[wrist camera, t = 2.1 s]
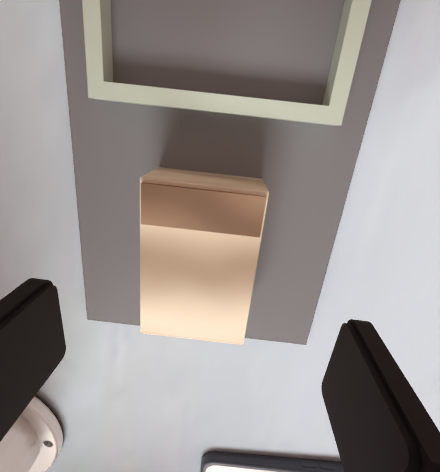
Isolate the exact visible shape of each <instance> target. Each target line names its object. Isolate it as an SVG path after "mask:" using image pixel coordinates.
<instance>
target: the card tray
mask: <svg viewBox="0 0 440 472" xmlns="http://www.w3.org/2000/svg"><path fill="white" fill-rule="evenodd" d="M371 1H372V0H345V2H344V7H343V12H342V16H341V21H340V26H339V30H338V35H337V40H336V44H335V49H334V53H333V58H332V63H331V67H330V72H329V77H328V81H327V86H326V91H325V95H324V100H323V105H315V104H306V103H297V102H287V101H278V100H269V99H260V98H251V97H242V96H233V95H223V94H214V93H205V92H196V91H187V90H178V89H168V88H159V87H150V86H141V85H132V84H123V83H114V82H113V59H112V29H111V0H82V6H83V22H84V37H85V53H86V69H87V84H88V98H92V99H97V100H105V101H114V102H124V103H133V104H142V105H151V106H160V107H169V108H178V109H187V110H196V111H205V112H215V113H224V114H233V115H242V116H251V117H260V118H269V119H278V120H287V121H297V122H306V123H315V124H324V125H333V126H341V124H342V120H343V116H344V112H345V108H346V104H347V100H348V96H349V92H350V87H351V83H352V79H353V75H354V71H355V67H356V63H357V59H358V55H359V50H360V46H361V42H362V38H363V34H364V30H365V26H366V22H367V18H368V14H369V9H370V5H371Z"/></svg>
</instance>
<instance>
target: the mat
mask: <svg viewBox="0 0 440 472" xmlns="http://www.w3.org/2000/svg"><path fill="white" fill-rule="evenodd" d="M59 2H60V13H61V25H62V36H63V48H64V59H65V70H66V82H67V93H68V104H69V116H70V127H71V138H72V150H73V161H74V173H75V184H76V195H77V207H78V218H79V229H80V241H81V252H82V263H83V275H84V286H85V298H86V309H87V319H88V320H96V321H105V322H113V323H122V324H131V325H139V326H140V177H142V176H144V175H146V174H147V173H149V172H151V171H153V170H155V169H156V168H158V167H162V168H171V169H179V170H188V171H197V172H206V173H215V174H224V175H233V176H242V177H251V178H260V179H263V181H264V183H265V185H266V187H267V189H268V191H269V196H268V202H267V208H266V213H265V219H264V225H263V231H262V237H261V243H260V249H259V255H258V261H257V267H256V273H255V278H254V284H253V290H252V296H251V302H250V308H249V314H248V320H247V326H246V332H245V338H251V339H260V340H269V341H277V342H286V343H294V344H303V345H306V343H307V339H308V336H309V332H310V328H311V325H312V321H313V317H314V314H315V310H316V306H317V303H318V299H319V295H320V292H321V288H322V284H323V281H324V277H325V274H326V270H327V266H328V263H329V259H330V255H331V252H332V248H333V244H334V241H335V237H336V233H337V230H338V226H339V222H340V219H341V215H342V212H343V208H344V204H345V201H346V197H347V193H348V190H349V186H350V182H351V179H352V175H353V171H354V168H355V164H356V160H357V157H358V153H359V150H360V146H361V142H362V139H363V135H364V131H365V128H366V124H367V120H368V117H369V113H370V109H371V106H372V102H373V98H374V95H375V91H376V87H377V84H378V80H379V77H380V73H381V69H382V66H383V62H384V58H385V55H386V51H387V47H388V44H389V40H390V36H391V33H392V29H393V25H394V22H395V18H396V15H397V11H398V7H399V4H400V0H372V1H371V5H370V9H369V14H368V18H367V22H366V26H365V30H364V34H363V38H362V42H361V46H360V50H359V55H358V59H357V63H356V67H355V71H354V75H353V79H352V83H351V87H350V92H349V96H348V100H347V104H346V108H345V112H344V116H343V120H342V124H341V126H333V125H324V124H315V123H306V122H297V121H287V120H278V119H269V118H260V117H251V116H242V115H233V114H224V113H215V112H205V111H196V110H187V109H178V108H169V107H160V106H151V105H142V104H133V103H124V102H114V101H105V100H97V99H92V98H88V84H87V69H86V53H85V37H84V22H83V6H82V0H59ZM344 2H345V0H111V29H112V59H113V82H114V83H123V84H132V85H141V86H150V87H159V88H168V89H178V90H187V91H196V92H205V93H214V94H223V95H233V96H242V97H251V98H260V99H269V100H278V101H287V102H297V103H306V104H315V105H323V100H324V95H325V91H326V86H327V81H328V77H329V72H330V67H331V63H332V58H333V53H334V49H335V44H336V40H337V35H338V30H339V26H340V21H341V16H342V12H343V7H344Z"/></svg>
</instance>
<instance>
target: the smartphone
mask: <svg viewBox="0 0 440 472" xmlns="http://www.w3.org/2000/svg"><path fill="white" fill-rule="evenodd" d="M201 472H344V468H343V465H342V462H334V461H323V460H312V459H300V458H289V457H277V456H265V455H253V454H241V453H230V452H218V451H212V452H208V453H206V454H204V455H203V457H202V462H201Z"/></svg>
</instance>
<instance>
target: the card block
mask: <svg viewBox="0 0 440 472" xmlns="http://www.w3.org/2000/svg"><path fill="white" fill-rule="evenodd" d="M268 196H269V191H268V189H267V187H266V185H265V183H264V181H263V179H260V178H251V177H242V176H233V175H224V174H215V173H206V172H197V171H188V170H179V169H171V168H162V167H158V168H156V169H155V170H153V171H151V172H149V173H147V174H146V175H144V176H142V177H140V333H145V334H153V335H162V336H171V337H179V338H188V339H196V340H205V341H214V342H222V343H231V344H239V345H243V344H244V338H245V332H246V326H247V320H248V314H249V308H250V302H251V296H252V290H253V284H254V278H255V273H256V267H257V261H258V255H259V249H260V243H261V237H262V231H263V225H264V219H265V213H266V208H267V202H268Z"/></svg>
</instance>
